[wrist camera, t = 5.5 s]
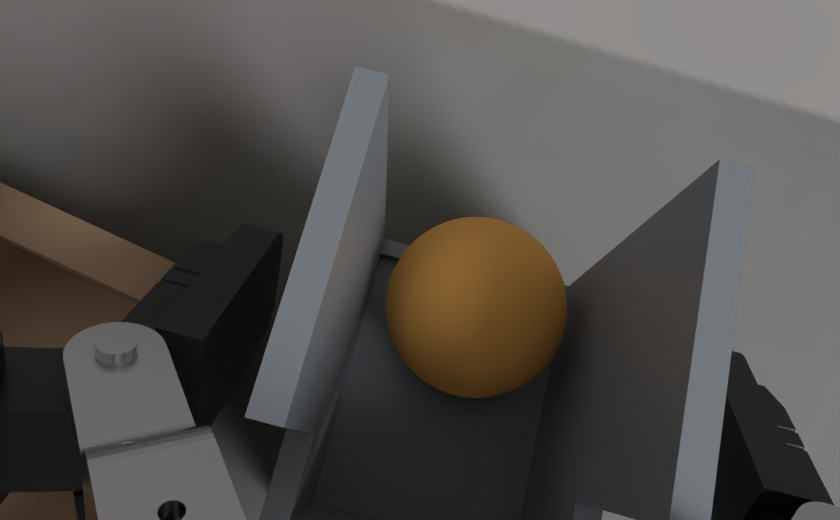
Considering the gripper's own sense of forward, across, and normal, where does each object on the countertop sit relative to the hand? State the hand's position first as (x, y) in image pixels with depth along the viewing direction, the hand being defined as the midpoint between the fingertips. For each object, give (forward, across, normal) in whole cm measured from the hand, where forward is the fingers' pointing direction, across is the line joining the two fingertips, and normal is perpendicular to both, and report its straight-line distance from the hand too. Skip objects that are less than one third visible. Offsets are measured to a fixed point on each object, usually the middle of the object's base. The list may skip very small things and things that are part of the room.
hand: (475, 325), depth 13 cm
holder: (+3, 0, +4) cm, 5 cm away
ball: (+2, 0, +1) cm, 2 cm away
